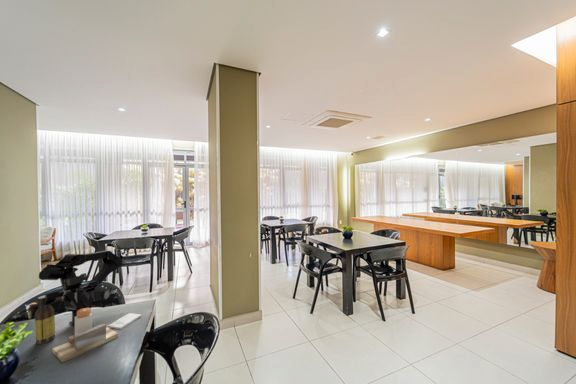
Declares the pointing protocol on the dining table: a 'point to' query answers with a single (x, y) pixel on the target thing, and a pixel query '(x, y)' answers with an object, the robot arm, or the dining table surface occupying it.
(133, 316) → the external hard drive
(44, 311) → the sauce bottle
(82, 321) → the white tall block
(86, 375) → the dining table surface
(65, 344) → the mount
